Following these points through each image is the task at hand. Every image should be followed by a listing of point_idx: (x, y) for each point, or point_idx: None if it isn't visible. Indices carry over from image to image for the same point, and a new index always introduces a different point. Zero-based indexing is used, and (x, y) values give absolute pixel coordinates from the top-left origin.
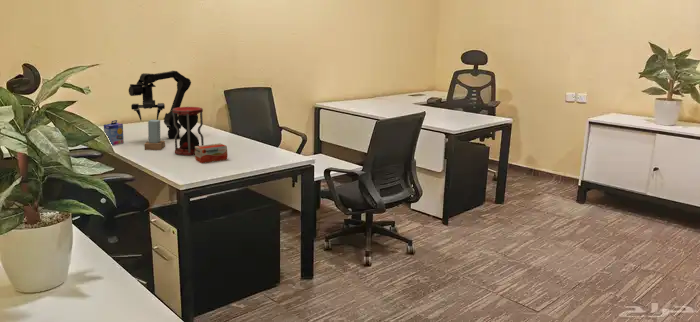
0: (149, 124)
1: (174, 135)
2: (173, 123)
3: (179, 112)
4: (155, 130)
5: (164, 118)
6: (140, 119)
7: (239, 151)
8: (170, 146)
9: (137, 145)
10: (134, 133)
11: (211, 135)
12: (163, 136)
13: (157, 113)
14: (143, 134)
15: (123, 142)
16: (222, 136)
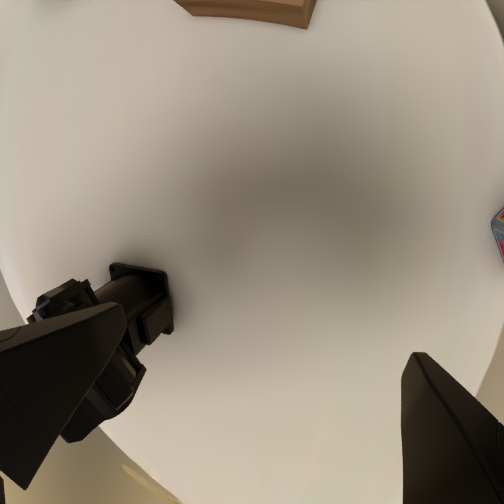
0: None
1: (123, 279)
2: (50, 297)
3: None
4: None
5: (102, 405)
6: (435, 364)
7: (7, 12)
8: (160, 25)
9: (407, 95)
10: (355, 454)
11: (31, 287)
12: (209, 362)
13: (3, 347)
14: (319, 434)
15: (495, 221)
16: (7, 253)
